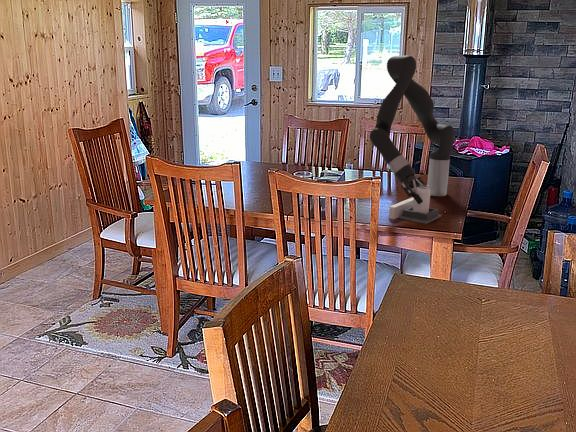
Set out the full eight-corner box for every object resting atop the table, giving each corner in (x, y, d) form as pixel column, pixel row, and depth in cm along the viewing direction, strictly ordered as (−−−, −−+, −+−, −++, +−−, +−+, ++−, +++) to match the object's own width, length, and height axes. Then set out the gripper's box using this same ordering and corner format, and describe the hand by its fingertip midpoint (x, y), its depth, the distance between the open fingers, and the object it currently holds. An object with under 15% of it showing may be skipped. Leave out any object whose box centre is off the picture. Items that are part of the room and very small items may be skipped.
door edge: (411, 208, 249) (412, 197, 247) (416, 209, 247) (417, 198, 246) (388, 218, 234) (389, 206, 232) (393, 219, 232) (394, 207, 231)
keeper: (415, 211, 245) (415, 203, 244) (441, 216, 237) (442, 208, 236) (399, 218, 234) (399, 210, 233) (426, 224, 227) (426, 216, 226)
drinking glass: (336, 208, 248) (337, 180, 244) (327, 213, 239) (328, 185, 236) (315, 204, 252) (316, 178, 249) (305, 210, 244) (306, 182, 240)
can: (428, 217, 232) (430, 189, 229) (412, 216, 234) (414, 188, 230) (428, 213, 238) (430, 185, 235) (412, 212, 240) (414, 184, 236)
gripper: (399, 166, 229) (423, 199, 225) (416, 161, 240) (439, 192, 236) (386, 177, 233) (410, 209, 230) (403, 171, 244) (426, 202, 241)
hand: (425, 201), depth 233 cm, fingers open, 7 cm apart
